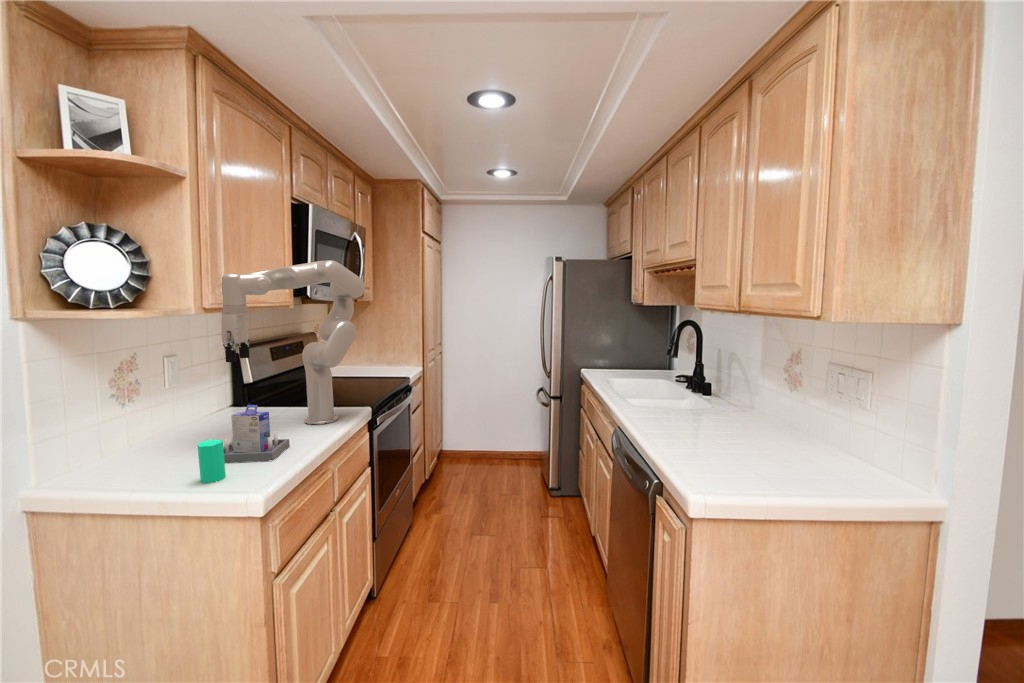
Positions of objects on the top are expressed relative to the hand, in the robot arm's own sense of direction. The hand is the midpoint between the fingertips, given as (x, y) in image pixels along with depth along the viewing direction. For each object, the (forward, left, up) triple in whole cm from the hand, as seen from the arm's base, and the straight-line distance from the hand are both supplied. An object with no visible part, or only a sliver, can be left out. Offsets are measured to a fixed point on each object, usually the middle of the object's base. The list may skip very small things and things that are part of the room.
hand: (238, 360), depth 170 cm
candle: (+37, +8, -28) cm, 47 cm away
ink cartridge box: (+17, +10, -27) cm, 33 cm away
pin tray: (+17, +10, -28) cm, 34 cm away
